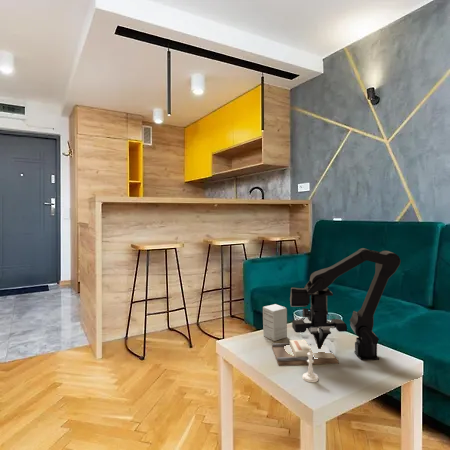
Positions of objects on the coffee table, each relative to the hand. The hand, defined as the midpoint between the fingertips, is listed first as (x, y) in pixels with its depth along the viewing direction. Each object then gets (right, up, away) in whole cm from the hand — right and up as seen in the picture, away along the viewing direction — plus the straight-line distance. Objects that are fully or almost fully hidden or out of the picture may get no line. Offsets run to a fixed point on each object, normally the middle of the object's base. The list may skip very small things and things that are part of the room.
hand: (319, 348), depth 122 cm
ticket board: (-5, -3, 0) cm, 6 cm away
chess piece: (-7, -4, -16) cm, 18 cm away
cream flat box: (-7, -1, 0) cm, 7 cm away
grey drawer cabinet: (-13, -2, +18) cm, 23 cm away
